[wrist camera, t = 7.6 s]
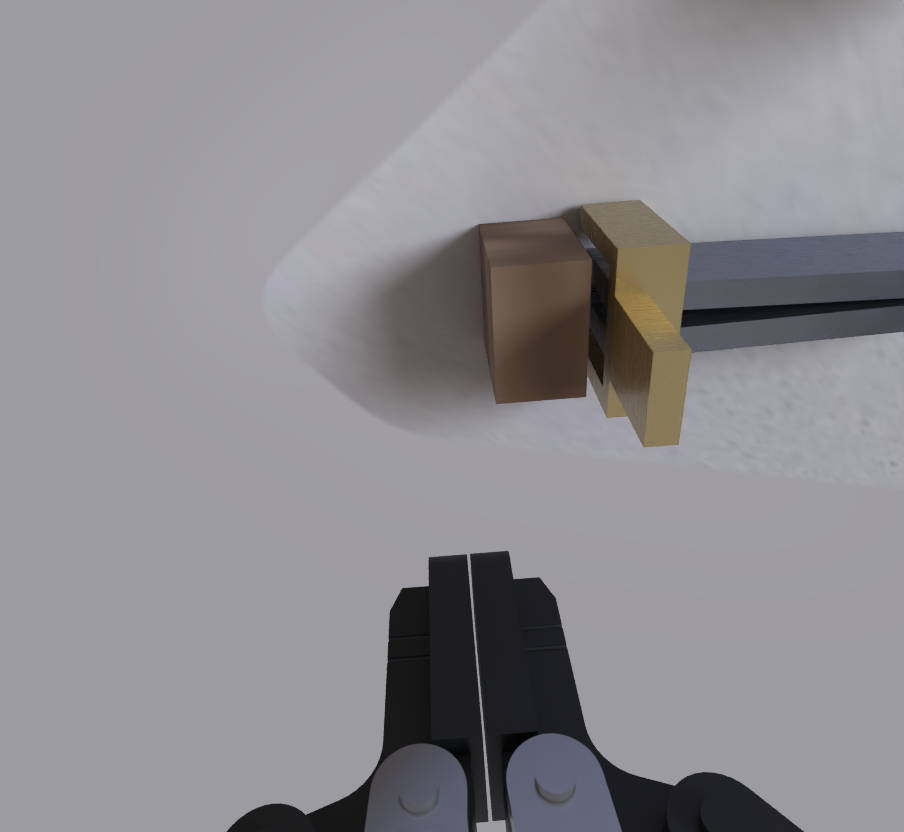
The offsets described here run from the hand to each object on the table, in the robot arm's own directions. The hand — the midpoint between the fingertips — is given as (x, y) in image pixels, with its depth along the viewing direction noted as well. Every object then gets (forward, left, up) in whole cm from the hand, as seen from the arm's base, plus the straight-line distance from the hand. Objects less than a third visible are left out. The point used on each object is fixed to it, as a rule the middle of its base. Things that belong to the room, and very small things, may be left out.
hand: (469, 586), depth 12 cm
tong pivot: (0, -3, -16) cm, 16 cm away
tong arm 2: (-1, -13, -15) cm, 21 cm away
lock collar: (-1, -6, -16) cm, 17 cm away
